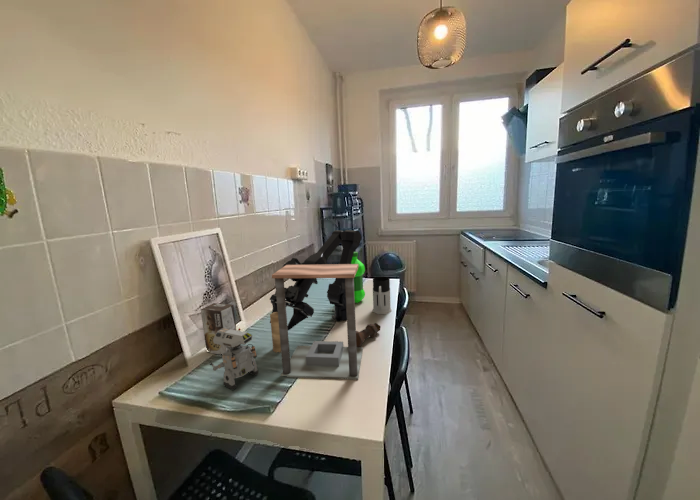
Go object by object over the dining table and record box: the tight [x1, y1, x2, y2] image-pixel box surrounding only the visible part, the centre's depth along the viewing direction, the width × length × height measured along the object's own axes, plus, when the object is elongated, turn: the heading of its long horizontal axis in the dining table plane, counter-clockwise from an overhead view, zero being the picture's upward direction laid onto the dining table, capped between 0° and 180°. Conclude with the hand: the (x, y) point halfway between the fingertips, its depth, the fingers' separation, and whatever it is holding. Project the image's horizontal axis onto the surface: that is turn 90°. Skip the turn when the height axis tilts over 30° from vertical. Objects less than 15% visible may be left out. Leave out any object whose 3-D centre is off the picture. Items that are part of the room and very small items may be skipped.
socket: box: [306, 340, 345, 366], centre depth 95 cm, size 10×10×4 cm
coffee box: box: [200, 302, 237, 355], centre depth 103 cm, size 9×6×16 cm
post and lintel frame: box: [271, 263, 364, 380], centre depth 91 cm, size 18×23×31 cm
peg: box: [269, 312, 281, 353], centre depth 102 cm, size 4×4×13 cm
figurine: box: [209, 328, 259, 391], centre depth 85 cm, size 9×12×15 cm
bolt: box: [356, 322, 381, 347], centre depth 107 cm, size 6×5×15 cm
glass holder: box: [372, 276, 393, 315], centre depth 131 cm, size 9×14×15 cm, turn 170°
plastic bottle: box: [351, 251, 366, 304], centre depth 146 cm, size 10×10×25 cm
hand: (278, 326), depth 102 cm, fingers open, 9 cm apart
